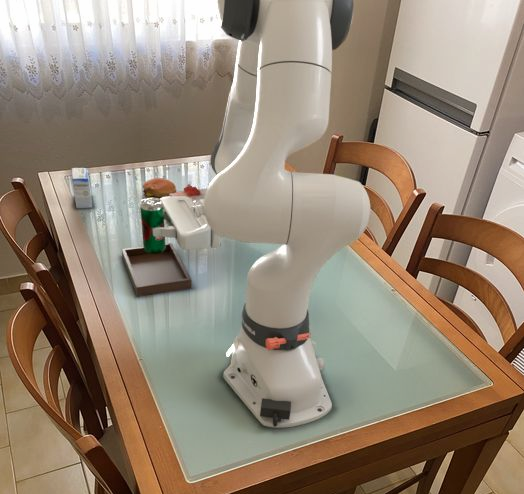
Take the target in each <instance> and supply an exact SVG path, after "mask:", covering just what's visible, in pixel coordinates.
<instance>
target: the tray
mask: <svg viewBox="0 0 524 494" xmlns="http://www.w3.org/2000/svg"><path fill="white" fill-rule="evenodd" d="M165 244H166V249H165V250H164V251H163V252H162V253H160V254H149V253H147V252H146V251H145V250H144V247H143V246H137V247H136V246H135V247H128V248H121V258H122V261H123V263H124V266H125V269H126V271H127V274H128V276H129V279H130V282H131V284H132V286H133V289H134V292H135V294H136V295H135V296H136V297H142V296H150V295H156V294H162V293H163V294H164V293H170V292H177V291H181V290H182V291H183V290H188V289H192V278H191V276H190V275H189V272H188V271H187V268H186V267H185V265H184V263H183V261H182V259H181V258H180V255H179V254H178V252H177V250H176V248H175V245H174V244H173V243H172V242H169V243H165Z"/></svg>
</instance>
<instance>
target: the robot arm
mask: <svg viewBox="0 0 524 494" xmlns="http://www.w3.org/2000/svg"><path fill="white" fill-rule="evenodd" d="M215 9H216V15H217V18H218V21H219V27H220V28H221V30H222V31H223V32H224V34H225V35H226V36H229V37H231V38H232V39H235V40H238V46H237V52H236V59H235V65H234V73H233V81H232V83H231V87H230V90H229V93H228V98H227V103H226V107H225V113H224V118H223V122H222V129H221V132H220V136H219V137H218V139H217V141H216V144H215V145H214V147H213V150H212V152H211V155H210V166H211V169H212V171H213V172H214V173H215V176H214V177H213V178H212V180H211V181H210V183H209V185H208V187H206V188H207V190H206V194H205V198H204V199H200V200H198V202H197V201H194V200H192V199H191V198H189V197H186V196H170V197H163V198H161V199H160V200H161V201H162V204H163V206H164V221H165V222H166V225H167V226H168V227H161V228H160V226H153V227H152V233H153V236H155V237H156V236H163V237H165V238H169V239H171V238H172V239H173V238H174V239H175V241H176V242H177V244H178V246H179V248H180V249H181V250H184V251H197V250H205V249H208V248H211V249H219V248H220V247H221V243H222V238H224V239H228V240H231V241H236V242H240V243H244V244H267V245H281V246H279V247H277V248H276V249H274V250H272V251H269V252H268V253H265V254H264V255H262V256H260V257H259V258H257V259H256V261H255V262H254V263H253V264H252V265H251V266H250V269H249V270H248V272H247V277H246V291H245V292H246V293H245V302H244V303H243V306H242V311H241V328H240V331H239V332H238V334H237V336H236V337H235V338H234V340H233V344H232V345H231V347H230V348H229V349H228V350H227V351H226V357H230V355H231V359H230V365H229V366H227V368H226V369H224V371H223V375H222V378H223V380H224V381H225V382H226V383H227V384H228V385H229V387H230V388H231V389H232V390H233V392H234V393H235V394H236V395H237V396H238V397H239V399H240V400H241V401H242V402H243V403H244V405H245V406H246V407H247V409H248V410H249V411H250V412H251V413H252V415H253V416H254V417H255V418H256V420H258V422H259V423H260V424H261V425H262V426H264V427H268V428H277V429H280V428H281V429H282V428H292V427H296V426H297V427H298V426H302V425H305V424H309V423H312V422H314V421H315V422H316V421H318V420H319V419H322V418H324V417H325V416H326V415H327V414H329V412H330V411H331V410H332V407H333V403H332V400H331V398H330V396H329V393H328V390H327V387H326V385H325V382H324V380H323V377H322V373H321V371H323V370H325V366H326V365H325V364H326V363H325V360H324V358H323V357H317V356H316V353H315V350H314V348H316V341H315V340H312V339H311V336H310V335H312V333H311V332H310V324H311V323H310V321H311V320H310V315H309V303H310V297H311V293H312V289H313V286H314V283H315V279H316V278H317V276H318V273H319V272H320V271H321V269H322V268H323V267H324V266H325V265H326V263H327V262H328V261H329V260H330V259H331V258H332V257H333V256H334V255H336V254H337V253H338V252H340V251H341V250H343V249H344V248H346V247H348V246H350V245H352V244H354V243H355V242H356V241H357V240H359V239H360V238H361V237H362V236H363V234H364V232H365V231H366V229H367V228H368V225H369V222H370V219H371V210H372V209H371V201H370V197H369V194H368V192H367V190H366V189H365V187H364V186H363V184H362V183H361V182H360V181H358V180H355V179H351V178H347V177H344V176H340V175H336V174H332V173H316V172H297V171H290V170H288V169H286V161H287V159H288V157H290V156H291V155H293V154H294V153H296V152H300V151H302V150H304V149H306V148H308V147H309V146H311V145H313V144H315V143H317V142H318V141H319V140H320V139H321V138H322V137H323V136H324V135H325V133H326V131H327V129H328V127H329V120H330V105H331V89H332V88H331V87H332V72H333V51H336V50H337V49H338V48H340V46H342V45H343V44H344V43H345V42H346V40H347V37H348V35H349V32H350V29H351V26H352V23H353V19H354V0H215Z"/></svg>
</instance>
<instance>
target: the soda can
mask: <svg viewBox="0 0 524 494" xmlns="http://www.w3.org/2000/svg"><path fill="white" fill-rule="evenodd" d="M139 205H140V206H139V209H140V210H139V211H140V221H141V222H140V223H141V236H142V245H143V246H142V247H144V250H145V251H146V252H147V253H149V254H160V253H162V252H163V251H164V250H165V249H166V244H167V243H166V237H163V236H156V237H155V236H153V233H152V227H153V226H160V228H161V227H165V220H164V206H163V204H162V201H161V200H160V199H158V198H152V197H151V198H146V197H145V198H143V199H142V200H141V203H140V204H139ZM165 228H166V227H165Z"/></svg>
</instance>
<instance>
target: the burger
mask: <svg viewBox="0 0 524 494" xmlns="http://www.w3.org/2000/svg"><path fill="white" fill-rule="evenodd" d="M142 189H143V190H142V192H143V196H144V197H145V198H151V197H152V198H158V199H161V198H163V197H169V194H171V193H175V192H177V186H176V185H175V183H174V182H172V181H171V180H169V179H167V178H163V177H155V178H151V179H148V180H146V181H145V182H144V183H143V184H142Z"/></svg>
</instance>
